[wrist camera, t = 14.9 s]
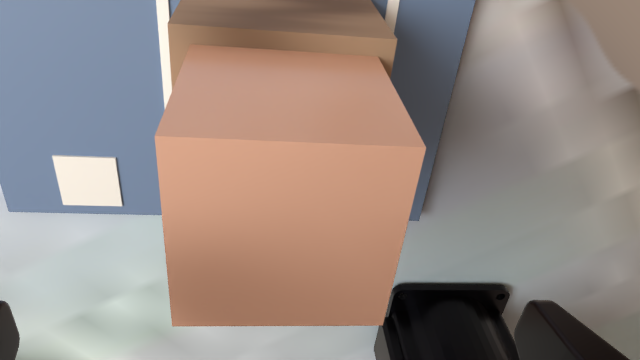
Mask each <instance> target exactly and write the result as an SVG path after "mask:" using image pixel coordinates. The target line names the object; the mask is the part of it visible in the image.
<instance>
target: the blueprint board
mask: <svg viewBox="0 0 640 360" xmlns="http://www.w3.org/2000/svg"><path fill="white" fill-rule="evenodd" d="M371 1H372V3H373V4H374V6H375V7H376V9H377V10H378V12H379V13H380V15H381V16H382V17H383V19H384V20H385V22H386V23H387V25H388V26H389V28H390V29H391V31H392V32H393V34H394V35H395V37H396V38H397V45H396V50H395V56H394V61H393V67H392V72H391V78H390V80H391V82H392V84H393V86H394V88H395V90H396V92H397V93H398V95H399V97H400V99H401V101H402V103H403V105H404V107H405V108H406V110H407V112H408V114H409V116H410V118H411V120H412V122H413V124H414V125H415V127H416V129H417V131H418V133H419V135H420V137H421V139H422V141H423V142H424V144H425V146H426V151H425V155H424V159H423V163H422V167H421V171H420V175H419V179H418V183H417V187H416V192H415V196H414V200H413V204H412V208H411V212H410V216H409V220H408V221H419V218H420V215H421V211H422V207H423V203H424V199H425V195H426V191H427V187H428V183H429V180H430V176H431V172H432V168H433V164H434V160H435V156H436V152H437V148H438V144H439V141H440V137H441V133H442V129H443V125H444V121H445V117H446V113H447V109H448V105H449V102H450V98H451V94H452V90H453V86H454V82H455V78H456V74H457V70H458V66H459V63H460V59H461V55H462V51H463V47H464V43H465V39H466V35H467V31H468V27H469V24H470V20H471V16H472V12H473V8H474V4H475V0H371ZM179 2H180V0H0V184H1V187H2V191H3V194H4V197H5V201H6V204H7V207H8V211H9V212H44V213H89V214H135V215H162V210H161V200H160V189H159V178H158V167H157V157H156V146H155V134H156V131H157V128H158V126H159V123H160V121H161V118H162V116H163V113H164V111H165V108H166V105H167V103H168V100H169V98H170V95H171V93H172V83H171V68H170V53H169V39H168V24H167V23H168V22H169V20H170V18H171V16H172V14H173V13H174V11H175V9H176V7H177V6H178V4H179Z"/></svg>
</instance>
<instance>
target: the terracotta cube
mask: <svg viewBox="0 0 640 360" xmlns="http://www.w3.org/2000/svg"><path fill="white" fill-rule="evenodd" d="M155 146H156V157H157V167H158V178H159V189H160V200H161V210H162V221H163V232H164V243H165V253H166V264H167V275H168V285H169V296H170V307H171V318H172V326H369V325H383V323H384V319H385V314H386V310H387V306H388V302H389V298H390V294H391V290H392V286H393V282H394V278H395V274H396V269H397V265H398V261H399V257H400V253H401V249H402V245H403V241H404V237H405V233H406V228H407V224H408V220H409V216H410V212H411V208H412V204H413V200H414V196H415V192H416V187H417V183H418V179H419V175H420V171H421V167H422V163H423V159H424V155H425V151H426V146H425V144H424V142H423V141H422V139H421V137H420V135H419V133H418V131H417V129H416V127H415V125H414V124H413V122H412V120H411V118H410V116H409V114H408V112H407V110H406V108H405V107H404V105H403V103H402V101H401V99H400V97H399V95H398V93H397V92H396V90H395V88H394V86H393V84H392V82H391V80H390V78H389V76H388V75H387V73H386V71H385V69H384V67H383V65H382V63H381V61H380V59H379V58H378V57H377V56H362V55H347V54H332V53H316V52H301V51H286V50H271V49H255V48H240V47H225V46H210V45H195V44H190V46H189V49H188V51H187V54H186V57H185V59H184V62H183V64H182V67H181V69H180V72H179V75H178V77H177V80H176V82H175V85H174V87H173V90H172V93H171V95H170V98H169V100H168V103H167V105H166V108H165V111H164V113H163V116H162V118H161V121H160V123H159V126H158V128H157V131H156V134H155Z"/></svg>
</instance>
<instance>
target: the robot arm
mask: <svg viewBox="0 0 640 360" xmlns="http://www.w3.org/2000/svg"><path fill="white" fill-rule="evenodd" d="M402 293H403V294H402ZM509 296H510V294H509V292H508V290H507V288H506V287H505V286H504V285H411V284H402V285H398V286H395V287H394V288H393V290H392V292H391V296H390V300H389V304H388V309H387V313H386V317H385V319H384V323H383V325H379V329H378V333H377V337H376V341H375V345H374V352H375V357H376V360H630V359H628V358H627V357H626V356H624V355H623V354H622V353H620V352H619V351H618V350H616V349H615V348H614V347H613V346H611V345H610V344H609V343H607V342H606V341H605V340H603V339H602V338H601V337H599V336H598V335H597V334H596V333H594V332H593V331H592V330H590V329H589V328H588V327H586V326H585V325H584V324H582V323H581V322H580V321H579V320H577V319H576V318H575V317H573V316H572V315H571V314H569V313H568V312H567V311H566V310H564V309H563V308H562V307H560V306H559V305H558V304H556V303H555V302H553V301H550V300H532V301H530V302H528V303H527V305H526V306H525V309H524V311H523V313H522V315H521V317H520V319H519V321H518V324H517V326H516V328H515V333H514V339H515V341H514V339H513V337H512V335H511V333H510V331H509V329H508V327H507V325H506V323H505V321H504V319H503V317H502V313H503V311H504V308H505V306H506V303H507V301H508V299H509ZM19 340H20V338H19V332H18V329H17V326H16V323H15V320H14V317H13V315H12V312H11V309H10V306H9V304H8V303H6V302H5V301H0V360H15V358H16V355H17V351H18V348H19Z"/></svg>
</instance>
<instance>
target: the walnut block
mask: <svg viewBox="0 0 640 360" xmlns="http://www.w3.org/2000/svg"><path fill="white" fill-rule="evenodd" d="M167 24H168V39H169V53H170V68H171V83H172V90H173V87H174V85H175V82H176V80H177V77H178V75H179V72H180V69H181V67H182V64H183V62H184V59H185V57H186V54H187V51H188V49H189V46H190V44H195V45H210V46H225V47H240V48H255V49H271V50H286V51H301V52H316V53H332V54H347V55H362V56H377V57H378V58H379V59H380V61H381V63H382V65H383V67H384V69H385V71H386V73H387V75H388V76H389V78H391V72H392V67H393V61H394V56H395V50H396V45H397V38H396V37H395V35H394V34H393V32H392V31H391V29H390V28H389V26H388V25H387V23H386V22H385V20H384V19H383V17H382V16H381V15H380V13H379V12H378V10H377V9H376V7H375V6H374V4H373V3H372V1H371V0H180V2H179V4H178V6H177V7H176V9H175V11H174V13H173V14H172V16H171V18H170V20H169V22H168V23H167Z"/></svg>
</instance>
